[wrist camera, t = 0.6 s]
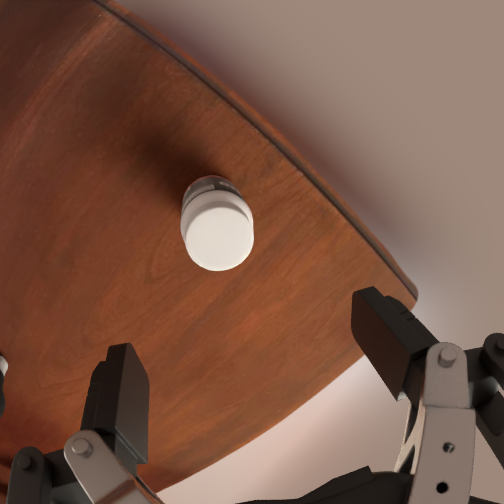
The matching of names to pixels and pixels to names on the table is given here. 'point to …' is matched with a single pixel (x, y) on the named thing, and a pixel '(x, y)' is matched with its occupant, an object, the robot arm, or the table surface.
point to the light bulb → (0, 369)
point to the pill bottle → (216, 224)
